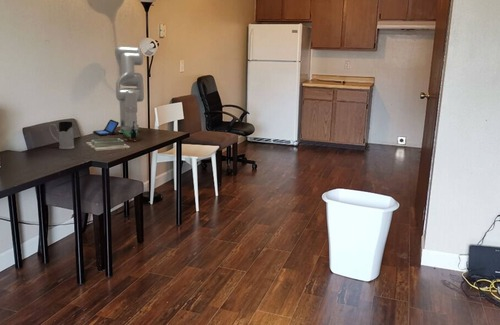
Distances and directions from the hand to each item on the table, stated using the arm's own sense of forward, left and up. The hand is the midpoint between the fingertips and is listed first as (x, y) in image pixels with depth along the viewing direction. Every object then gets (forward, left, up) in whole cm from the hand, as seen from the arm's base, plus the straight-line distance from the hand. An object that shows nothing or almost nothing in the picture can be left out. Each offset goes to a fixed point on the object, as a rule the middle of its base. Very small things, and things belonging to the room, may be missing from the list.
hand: (131, 137), depth 301 cm
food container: (+1, 0, -3) cm, 3 cm away
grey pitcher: (+4, -44, -3) cm, 44 cm away
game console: (-30, -8, -3) cm, 32 cm away
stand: (+11, -19, -2) cm, 22 cm away
